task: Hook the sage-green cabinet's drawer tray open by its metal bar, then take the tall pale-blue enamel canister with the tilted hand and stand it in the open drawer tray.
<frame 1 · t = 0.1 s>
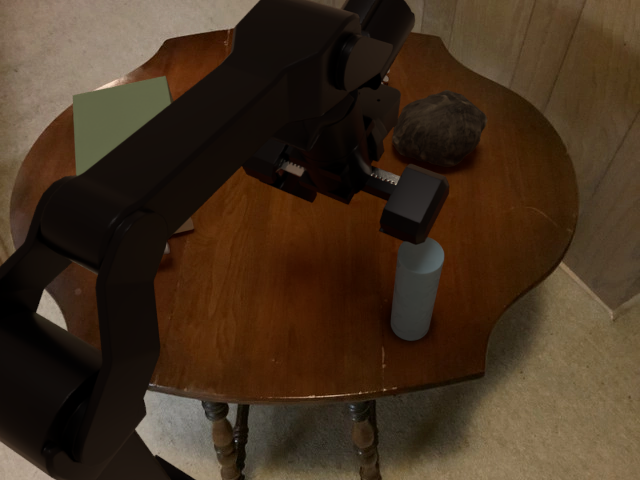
hand: (352, 214, 62), 13 cm above the table, tool pointing down, fingers open, 9 cm apart
rock: (433, 151, 84), on the table
canister: (409, 323, 68), on the table
drawer: (137, 196, 78), point 3 cm above the table, slide at 6.5 cm
decorative flower: (341, 86, 93), on the table
cabinet: (136, 155, 86), on the table
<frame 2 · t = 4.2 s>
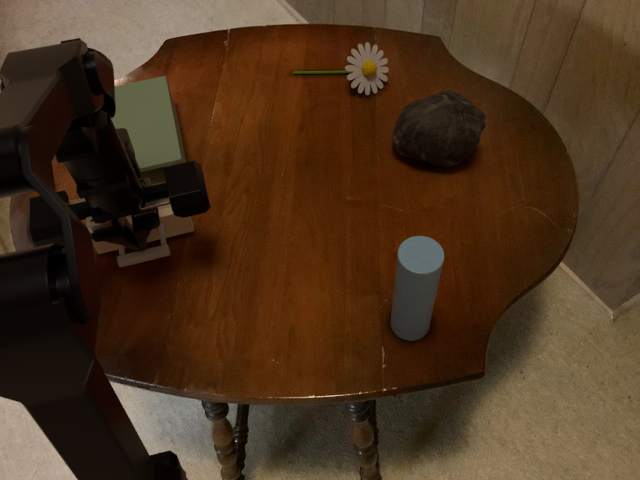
hand: (141, 247, 71), 4 cm above the table, tool pointing down, fingers closed, pressing on drawer
drawer: (137, 198, 77), point 3 cm above the table, slide at 6.8 cm, touching gripper
everything else where it was.
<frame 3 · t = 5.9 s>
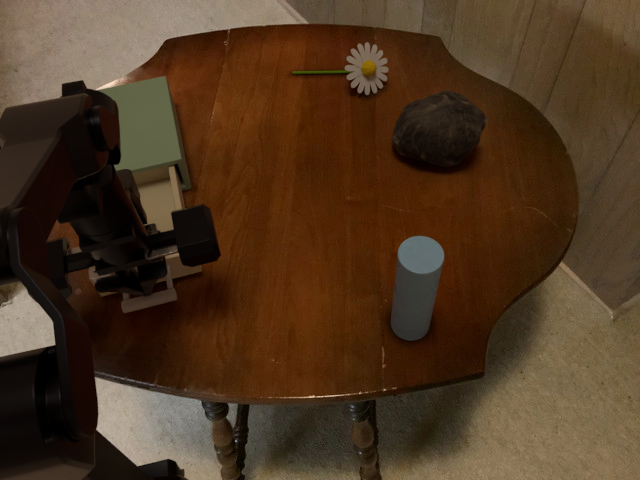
hand: (147, 291, 68), 4 cm above the table, tool pointing down, fingers closed, pressing on drawer
drawer: (142, 236, 74), point 3 cm above the table, slide at 13.3 cm, touching gripper
everything else where it was.
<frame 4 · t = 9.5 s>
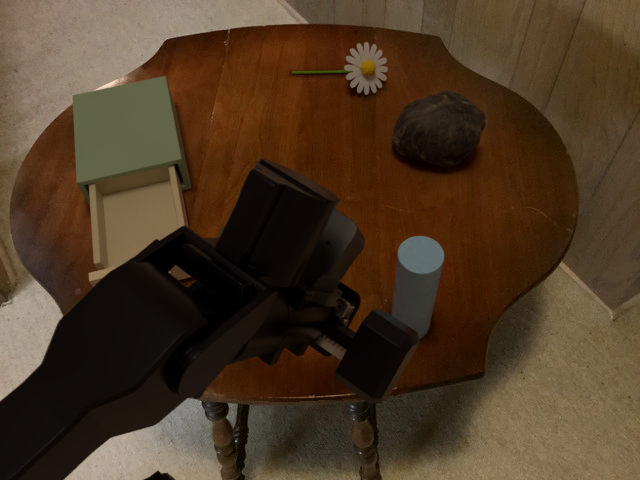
hand: (345, 298, 55), 13 cm above the table, tool tilted 40°, fingers closed
drawer: (142, 239, 73), point 3 cm above the table, slide at 13.7 cm
everything else where it was.
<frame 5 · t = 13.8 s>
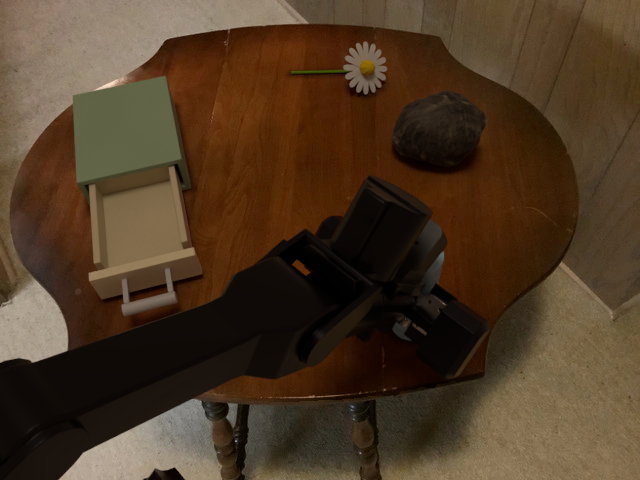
hand: (422, 285, 64), 7 cm above the table, tool tilted 45°, fingers closed on canister, 4 cm apart
canister: (409, 323, 68), on the table, touching gripper
everything else where it was.
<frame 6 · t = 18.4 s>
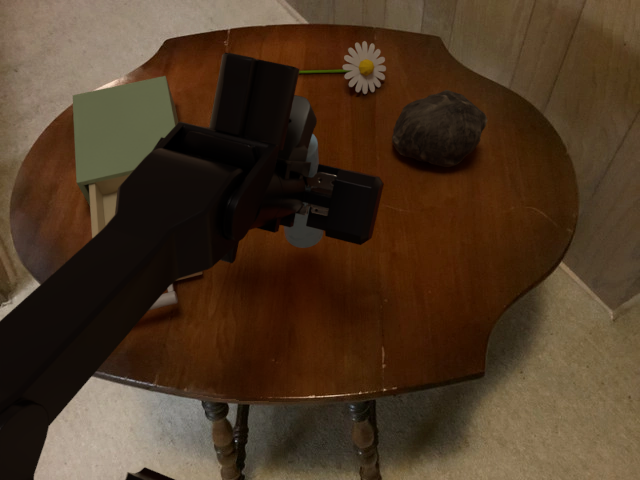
hand: (304, 185, 63), 13 cm above the table, tool tilted 45°, fingers closed on canister, 4 cm apart
canister: (304, 232, 68), point 7 cm above the table, touching gripper
everything else where it was.
when the fingers open (8 cm above the table, at t = 23.3 s): canister stays where it is, resting on drawer.
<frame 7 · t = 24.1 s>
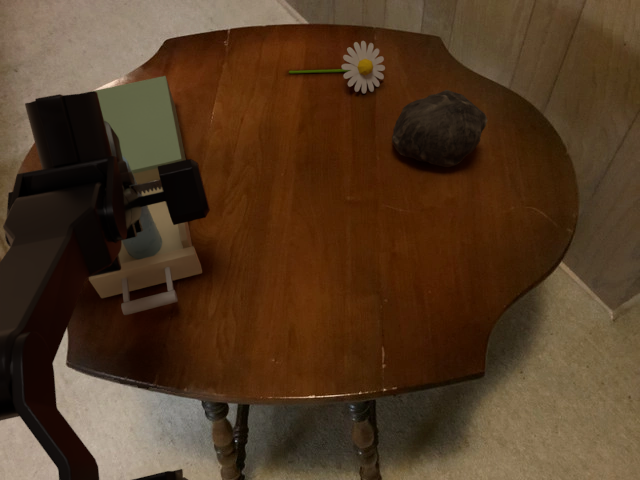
hand: (126, 201, 69), 9 cm above the table, tool tilted 45°, fingers open, 9 cm apart
canister: (144, 244, 74), point 2 cm above the table, touching drawer
drawer: (142, 238, 74), point 3 cm above the table, slide at 13.5 cm, touching canister
everything else where it was.
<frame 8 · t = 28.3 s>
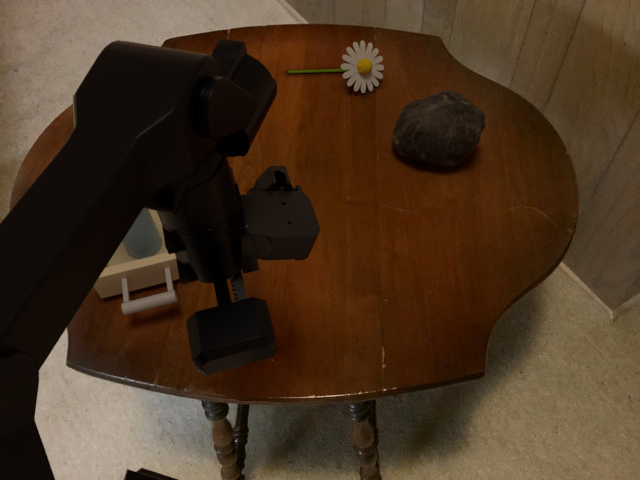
hand: (232, 309, 56), 13 cm above the table, tool pointing down, fingers open, 9 cm apart
nothing on the table moved.
at the end: drawer slide at 13.5 cm; canister inside the target area in the drawer (0.4 cm from its centre), point 1.9 cm above the cabinet's base; canister tilted 0° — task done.
